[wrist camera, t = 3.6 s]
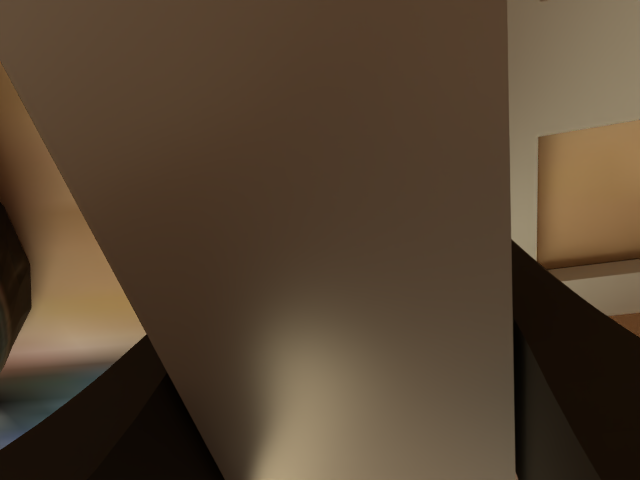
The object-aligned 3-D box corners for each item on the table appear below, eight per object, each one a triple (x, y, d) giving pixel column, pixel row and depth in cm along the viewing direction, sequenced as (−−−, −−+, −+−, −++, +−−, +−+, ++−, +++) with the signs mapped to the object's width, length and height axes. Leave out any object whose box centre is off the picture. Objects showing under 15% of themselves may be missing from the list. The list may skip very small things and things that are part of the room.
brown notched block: (467, 413, 15) (521, 675, 10) (335, 423, 15) (320, 671, 10) (412, -187, 8) (507, -418, 2) (169, -116, 8) (-153, -178, 3)
